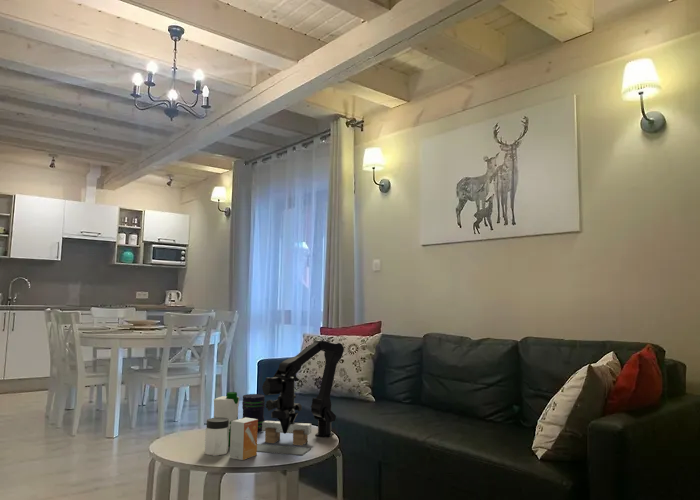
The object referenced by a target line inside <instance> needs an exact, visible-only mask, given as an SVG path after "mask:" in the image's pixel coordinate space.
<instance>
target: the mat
mask: <svg viewBox="0 0 700 500" xmlns="http://www.w3.org/2000/svg"><path fill="white" fill-rule="evenodd" d="M310 450H312V449H311V447H299V446H288V445H285V446H284V445H274V444H261V443H257V453H267V454H268V453H269V454H281V455H289V454H292V456H301V455H302V456H304V455H305V454H306V453H308V452H309V451H310ZM307 451H308V452H307ZM303 454H304V455H303Z"/></svg>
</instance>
